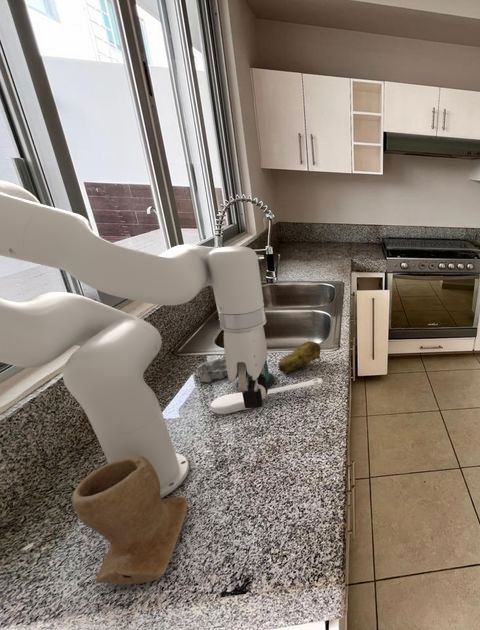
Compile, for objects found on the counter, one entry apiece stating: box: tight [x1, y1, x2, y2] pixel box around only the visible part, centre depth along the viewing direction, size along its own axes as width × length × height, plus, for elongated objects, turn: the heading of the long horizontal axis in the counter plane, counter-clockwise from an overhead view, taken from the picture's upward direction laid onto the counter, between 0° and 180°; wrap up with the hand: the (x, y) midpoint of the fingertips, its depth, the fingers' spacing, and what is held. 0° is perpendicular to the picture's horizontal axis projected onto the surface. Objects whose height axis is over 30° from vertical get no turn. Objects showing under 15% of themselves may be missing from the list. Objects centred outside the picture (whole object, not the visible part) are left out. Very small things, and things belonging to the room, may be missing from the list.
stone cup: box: [71, 456, 189, 586], centre depth 54 cm, size 15×12×15 cm
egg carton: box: [196, 357, 228, 383], centre depth 104 cm, size 11×8×4 cm
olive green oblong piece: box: [278, 341, 322, 373], centre depth 108 cm, size 8×13×8 cm, turn 109°
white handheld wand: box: [210, 377, 324, 415], centre depth 93 cm, size 28×6×3 cm, turn 114°
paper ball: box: [258, 384, 266, 401], centre depth 68 cm, size 4×4×4 cm
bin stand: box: [236, 372, 275, 390], centre depth 101 cm, size 10×10×1 cm
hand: (256, 399), depth 69 cm, fingers closed on paper ball, 3 cm apart
